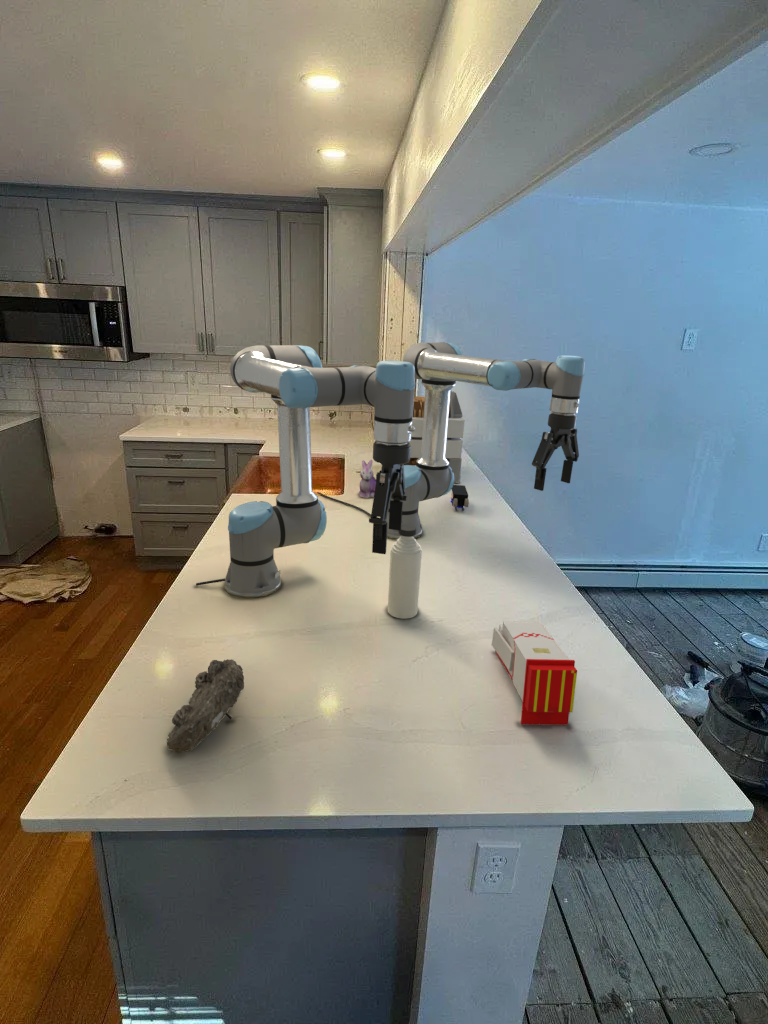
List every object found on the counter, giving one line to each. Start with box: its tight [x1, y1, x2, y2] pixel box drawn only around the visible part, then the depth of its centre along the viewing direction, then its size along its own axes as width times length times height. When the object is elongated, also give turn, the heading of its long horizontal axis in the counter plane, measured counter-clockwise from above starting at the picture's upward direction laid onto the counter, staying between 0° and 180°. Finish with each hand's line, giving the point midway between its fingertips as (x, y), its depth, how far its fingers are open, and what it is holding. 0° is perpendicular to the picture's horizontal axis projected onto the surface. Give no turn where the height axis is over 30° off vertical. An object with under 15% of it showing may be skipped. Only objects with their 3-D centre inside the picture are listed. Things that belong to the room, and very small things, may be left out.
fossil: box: [166, 658, 245, 754], centre depth 106 cm, size 22×10×15 cm
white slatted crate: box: [404, 390, 465, 484], centre depth 268 cm, size 34×33×41 cm
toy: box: [491, 621, 578, 726], centre depth 121 cm, size 12×13×30 cm
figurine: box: [358, 459, 376, 499], centre depth 237 cm, size 9×10×15 cm
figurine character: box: [449, 484, 470, 512], centre depth 229 cm, size 7×8×15 cm
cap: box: [398, 525, 416, 537], centre depth 141 cm, size 4×4×2 cm
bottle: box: [387, 536, 423, 620], centre depth 145 cm, size 8×8×23 cm
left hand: (387, 540), depth 120 cm, fingers open, 13 cm apart
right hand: (552, 485), depth 166 cm, fingers open, 13 cm apart
